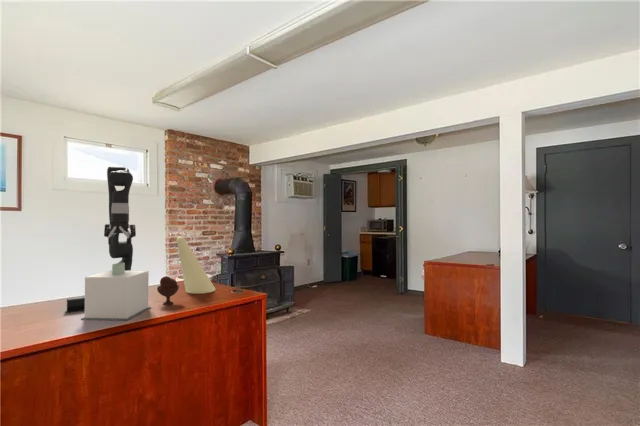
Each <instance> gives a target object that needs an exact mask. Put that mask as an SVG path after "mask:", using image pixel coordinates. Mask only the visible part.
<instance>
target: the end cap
mask: <svg viewBox="0 0 640 426" xmlns="http://www.w3.org/2000/svg"><path fill="white" fill-rule="evenodd" d="M66 311H67V312H68V313H71V312H77V311H85V295H82V296H78V297H68V298H67V299H66Z"/></svg>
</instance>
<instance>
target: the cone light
mask: <svg viewBox="0 0 640 426" xmlns="http://www.w3.org/2000/svg"><path fill="white" fill-rule="evenodd" d="M175 241H176V243H177V248H178V254H179V260H180V265H181V272H182V278H183V283H184V289H185V293H188V294H197V295H198V294H207V293H212V292H215V291H216V287H215V286H214V284H213V283H212V281H211V279H210V277H209V276H208V274H207V272H205V269H204V268H203V266H202V265H201V263H200V261H199V260H198V258H197V257H196V255H195V253H194V252H193V250H192V249H191V247H190V246H189V243H188V242H187V240H186V238H185V237H184V236H178V237H177V238H176V240H175Z"/></svg>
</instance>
